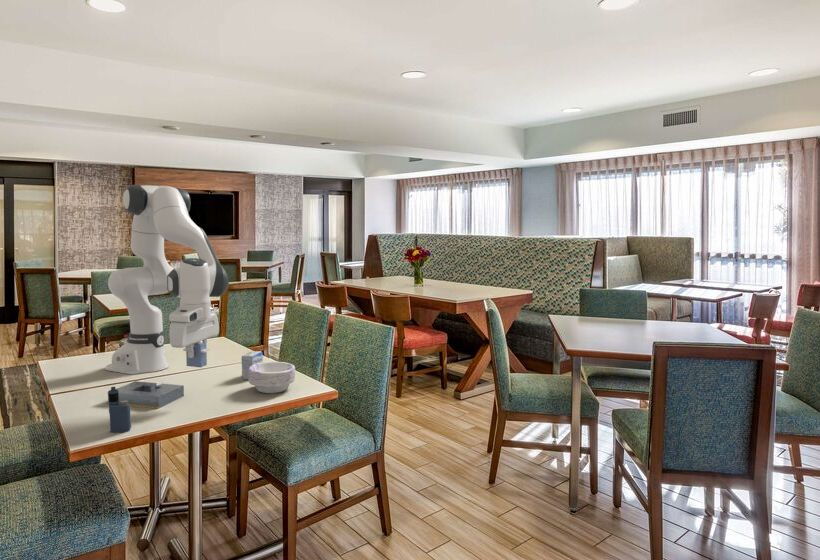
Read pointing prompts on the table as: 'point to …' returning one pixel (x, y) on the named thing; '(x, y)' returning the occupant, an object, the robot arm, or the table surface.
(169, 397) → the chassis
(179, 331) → the robot arm
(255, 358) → the medicine box
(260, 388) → the paper bowls
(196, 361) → the servo block
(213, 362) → the table surface
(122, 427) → the vaping device
